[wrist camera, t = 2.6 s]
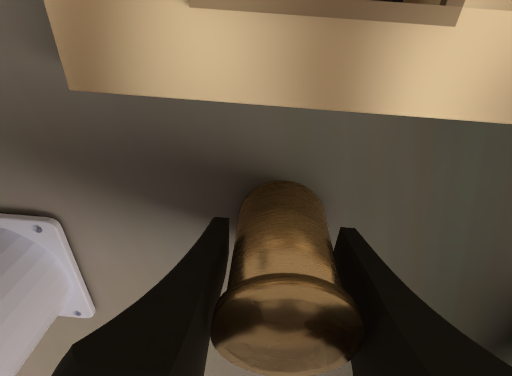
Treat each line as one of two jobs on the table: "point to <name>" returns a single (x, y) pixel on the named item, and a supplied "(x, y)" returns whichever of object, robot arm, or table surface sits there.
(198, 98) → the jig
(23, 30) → the table surface
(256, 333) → the brass flanged knob
